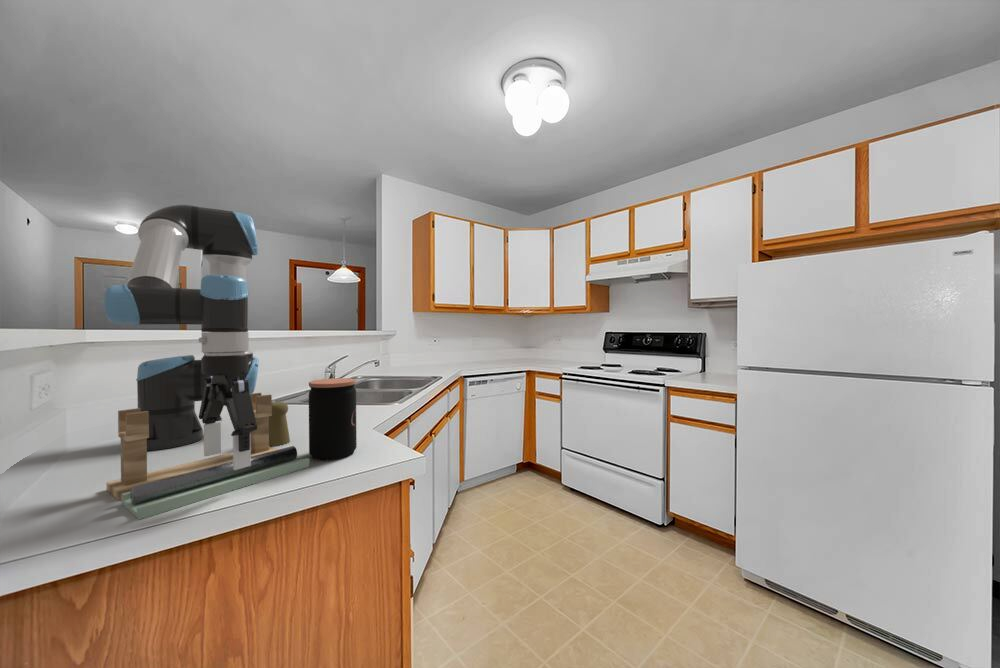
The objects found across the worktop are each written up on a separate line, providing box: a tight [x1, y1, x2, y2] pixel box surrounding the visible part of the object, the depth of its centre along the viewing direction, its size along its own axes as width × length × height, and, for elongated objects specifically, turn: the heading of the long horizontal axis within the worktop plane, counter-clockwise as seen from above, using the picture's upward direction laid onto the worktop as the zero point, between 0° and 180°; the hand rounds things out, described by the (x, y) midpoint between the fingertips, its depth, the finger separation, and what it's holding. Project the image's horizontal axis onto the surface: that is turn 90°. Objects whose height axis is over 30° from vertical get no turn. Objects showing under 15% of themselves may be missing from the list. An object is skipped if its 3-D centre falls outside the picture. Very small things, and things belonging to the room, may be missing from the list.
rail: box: [130, 445, 298, 505], centre depth 75 cm, size 27×3×3 cm, turn 146°
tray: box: [121, 457, 310, 521], centre depth 75 cm, size 10×28×2 cm, turn 146°
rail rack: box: [106, 392, 279, 501], centre depth 81 cm, size 8×28×15 cm, turn 146°
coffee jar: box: [308, 377, 358, 461], centre depth 92 cm, size 11×11×18 cm
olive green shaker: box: [269, 401, 291, 447], centre depth 101 cm, size 6×6×11 cm
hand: (226, 460), depth 75 cm, fingers open, 13 cm apart
